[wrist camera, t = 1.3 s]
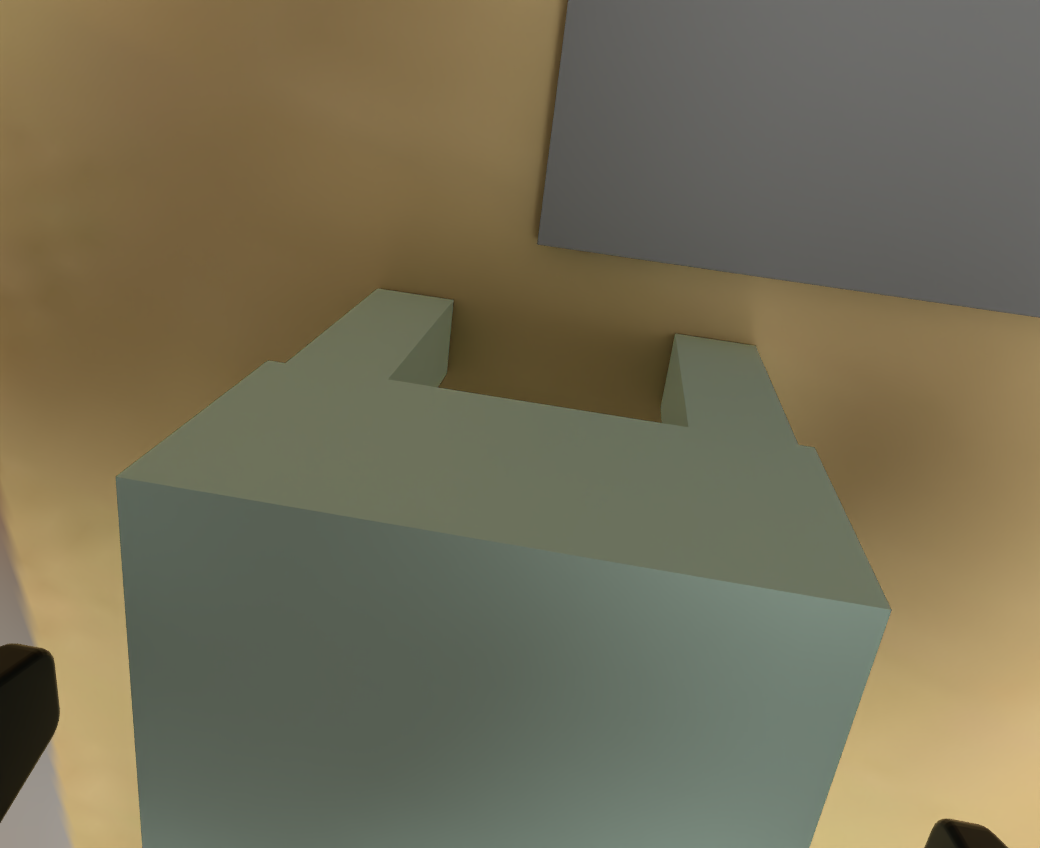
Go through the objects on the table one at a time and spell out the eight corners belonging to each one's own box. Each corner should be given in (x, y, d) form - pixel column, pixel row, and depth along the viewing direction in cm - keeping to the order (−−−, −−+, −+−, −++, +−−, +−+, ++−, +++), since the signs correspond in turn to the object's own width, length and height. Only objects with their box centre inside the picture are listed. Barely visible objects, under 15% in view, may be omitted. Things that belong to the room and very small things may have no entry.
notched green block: (685, 664, 15) (720, 1104, 9) (354, 605, 15) (152, 981, 9) (763, 340, 13) (891, 609, 6) (371, 280, 13) (115, 476, 7)
